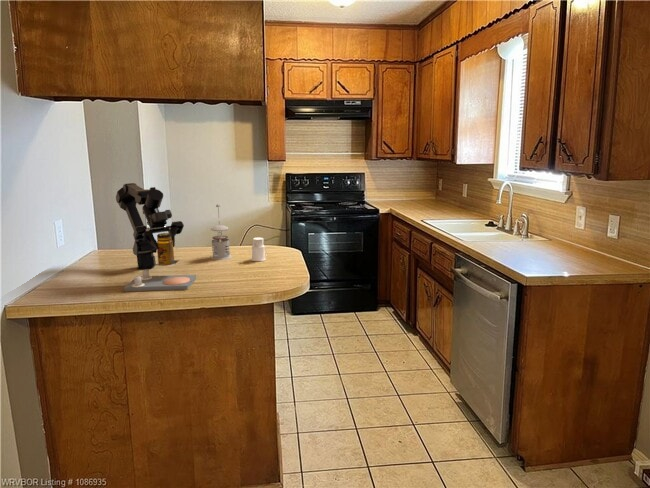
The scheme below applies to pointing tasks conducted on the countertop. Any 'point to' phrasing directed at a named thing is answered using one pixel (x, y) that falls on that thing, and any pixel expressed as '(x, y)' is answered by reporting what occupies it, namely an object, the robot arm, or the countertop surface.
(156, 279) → the board
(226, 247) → the french press
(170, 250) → the condiment
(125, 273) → the countertop surface
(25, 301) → the countertop surface
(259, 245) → the downlight
